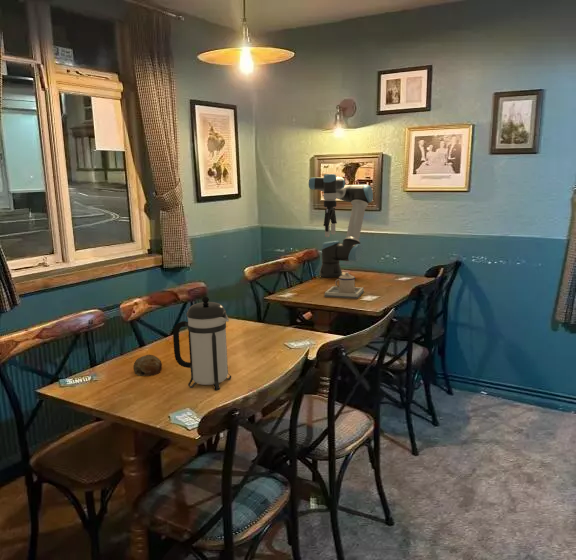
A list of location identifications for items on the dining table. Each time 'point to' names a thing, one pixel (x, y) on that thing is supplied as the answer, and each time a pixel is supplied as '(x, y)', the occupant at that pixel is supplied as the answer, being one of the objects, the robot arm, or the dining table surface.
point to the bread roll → (147, 365)
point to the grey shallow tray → (335, 293)
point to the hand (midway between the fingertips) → (330, 235)
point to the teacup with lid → (346, 283)
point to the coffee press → (205, 343)
